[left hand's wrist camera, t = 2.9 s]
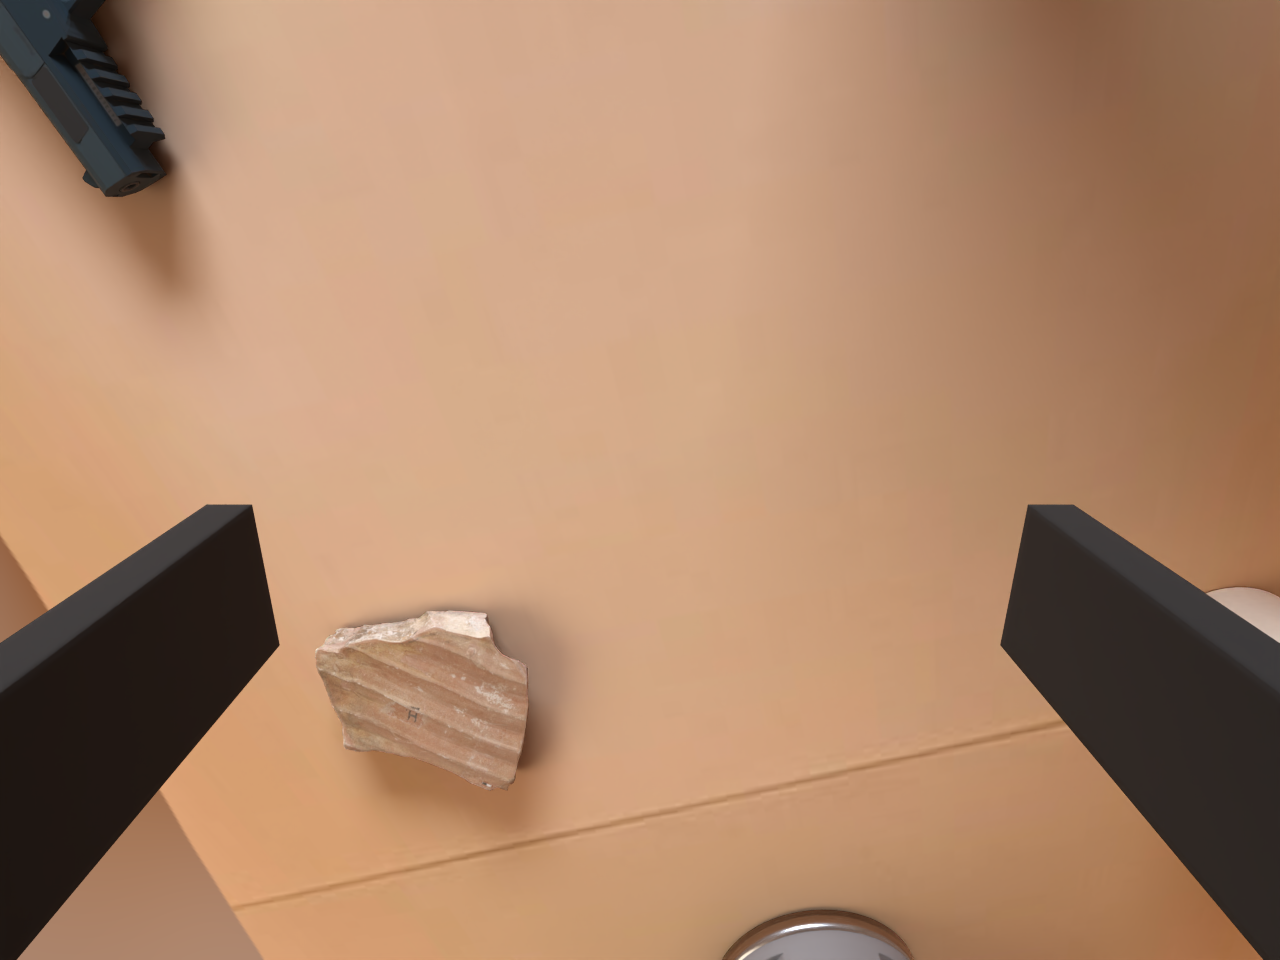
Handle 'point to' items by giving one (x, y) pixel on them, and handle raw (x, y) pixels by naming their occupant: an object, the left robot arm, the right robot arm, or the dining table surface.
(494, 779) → the stone
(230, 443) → the dining table surface
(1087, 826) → the dining table surface
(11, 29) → the handgun
